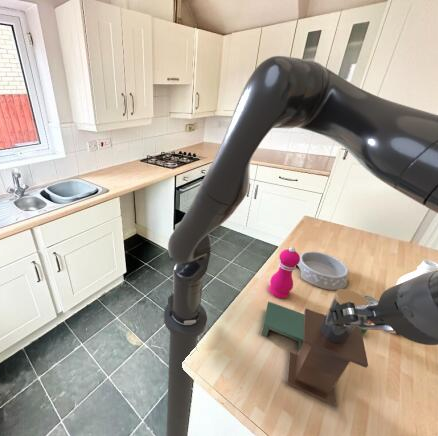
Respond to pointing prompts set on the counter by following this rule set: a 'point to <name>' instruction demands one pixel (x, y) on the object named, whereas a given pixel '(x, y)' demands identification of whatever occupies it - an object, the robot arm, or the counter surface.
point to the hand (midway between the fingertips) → (366, 325)
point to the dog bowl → (323, 270)
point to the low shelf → (284, 322)
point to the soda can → (370, 302)
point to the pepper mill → (284, 273)
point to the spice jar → (327, 325)
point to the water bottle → (419, 272)
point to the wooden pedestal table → (323, 359)
